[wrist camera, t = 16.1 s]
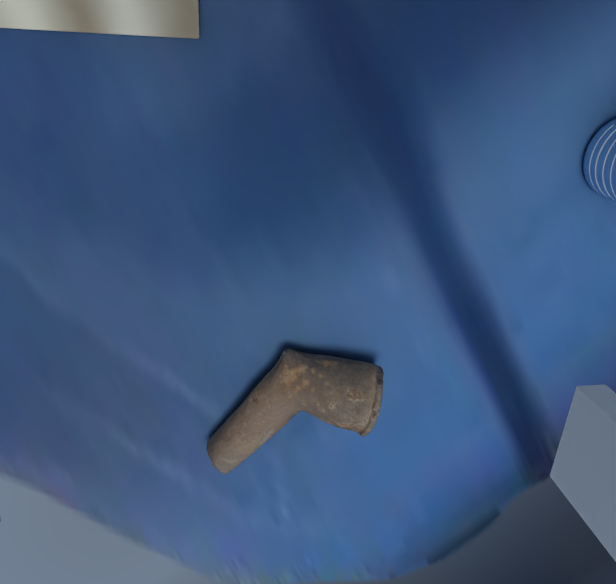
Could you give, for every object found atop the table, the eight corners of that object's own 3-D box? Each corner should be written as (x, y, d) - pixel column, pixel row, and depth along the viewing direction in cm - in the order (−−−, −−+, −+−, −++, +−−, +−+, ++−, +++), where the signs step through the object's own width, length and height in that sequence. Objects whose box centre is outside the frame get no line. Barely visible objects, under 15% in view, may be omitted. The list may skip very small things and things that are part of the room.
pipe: (187, 473, 46) (279, 534, 49) (317, 333, 43) (410, 406, 45) (199, 430, 52) (280, 486, 55) (313, 303, 49) (396, 369, 51)
